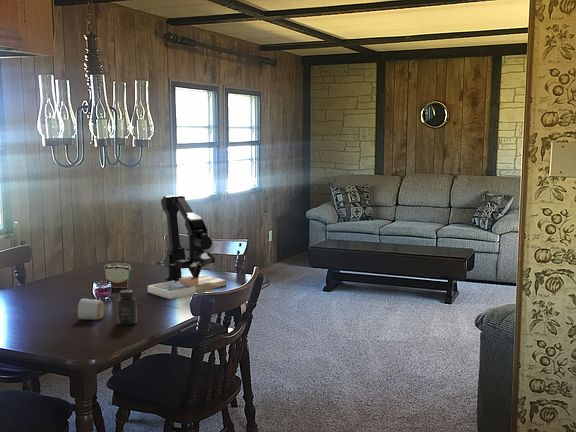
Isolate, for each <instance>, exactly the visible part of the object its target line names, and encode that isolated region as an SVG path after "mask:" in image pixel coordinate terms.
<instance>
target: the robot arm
mask: <svg viewBox="0 0 576 432" xmlns="http://www.w3.org/2000/svg"><path fill="white" fill-rule="evenodd" d="M160 204H161V207H162V210H163V212H164V213H165V215H166V220H167V232H168V242H169V245H168V248H167V250H166V256H165V258H164V260H163V266H164V267H165V268H167V276H166V277H164V278H165V279H166V280H169V281H179V278H183V277H184V276H182V269H183V270H184V269H185V270H186V269H188V271H189V273H190V274H191V277H195V278H198V277H200V273H201V271H202V269H203V268H204V267H206V265H210V264H215V263H216V258H215V256H214V253H213V252H212V251H211V252H208V253H207V252H205V251H206V250H209V249H211V247H212V245H213V240H212V239H211V237H209V232H208V228H207V226H206V224H205V221H204V219H203V218H202V217H201V216H200V215H199V214H196V213H195V212H194V211H193V209H192V208H191V206H190V205H189V203H188V202H187V200H186V197H185V195H184V194H183V195H182V194H175V195H164V196H163V197H162V198H161V200H160ZM179 212H180V214H181V216H182V218H184V226H185V229H186V230H187V233H186V235H187V236H188V248H186V249H185V247H182V245H181V241H180V233H179V232H180V231H179V230H180V229H179V221H178V213H179ZM185 250H186V251H187V252H188V256H186V251H185Z"/></svg>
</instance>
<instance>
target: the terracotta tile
mask: <svg viewBox="0 0 576 432" xmlns="http://www.w3.org/2000/svg"><path fill="white" fill-rule="evenodd" d="M182 277H183V278H179V279H178V281H179V283H182V284H186V285H187V286H191V285H195V284H199V278H195V277H193V276H192V275H191V276H190V275H188V276H185V277H184V276H182Z"/></svg>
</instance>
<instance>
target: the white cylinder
mask: <svg viewBox="0 0 576 432" xmlns="http://www.w3.org/2000/svg"><path fill="white" fill-rule="evenodd" d="M104 314H105V303H104V301H103V300H100V299H92V298H91V299H90V298H80V300H79V302H78V305H77V317H78V319H79V320H95V321H97V320H101V319H102V318H103V317H104Z"/></svg>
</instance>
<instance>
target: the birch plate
mask: <svg viewBox="0 0 576 432" xmlns="http://www.w3.org/2000/svg"><path fill="white" fill-rule="evenodd" d="M198 278H199V284H195V285H191V286H187V288H188V287H193V286H196V293H199V292H198V291H201V292H204V291H208V290H213V288H214V289H218V288H222V287H221V286H223V287H226V286H227V280H226V279H223V278H218V277H214V276H210V275H201V276H199V277H198ZM175 283H179V280H176V281H175ZM225 285H226V286H225ZM217 287H218V288H217Z"/></svg>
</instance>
